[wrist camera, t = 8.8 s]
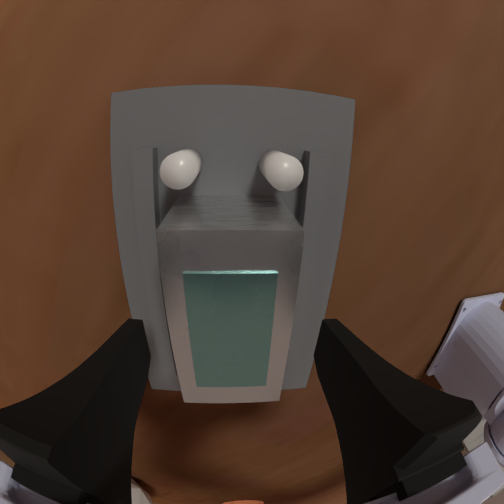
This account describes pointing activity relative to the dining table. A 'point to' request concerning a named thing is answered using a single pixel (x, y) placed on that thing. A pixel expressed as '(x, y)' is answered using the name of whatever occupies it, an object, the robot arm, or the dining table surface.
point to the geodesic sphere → (139, 494)
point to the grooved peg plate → (229, 189)
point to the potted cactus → (244, 502)
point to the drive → (230, 294)
